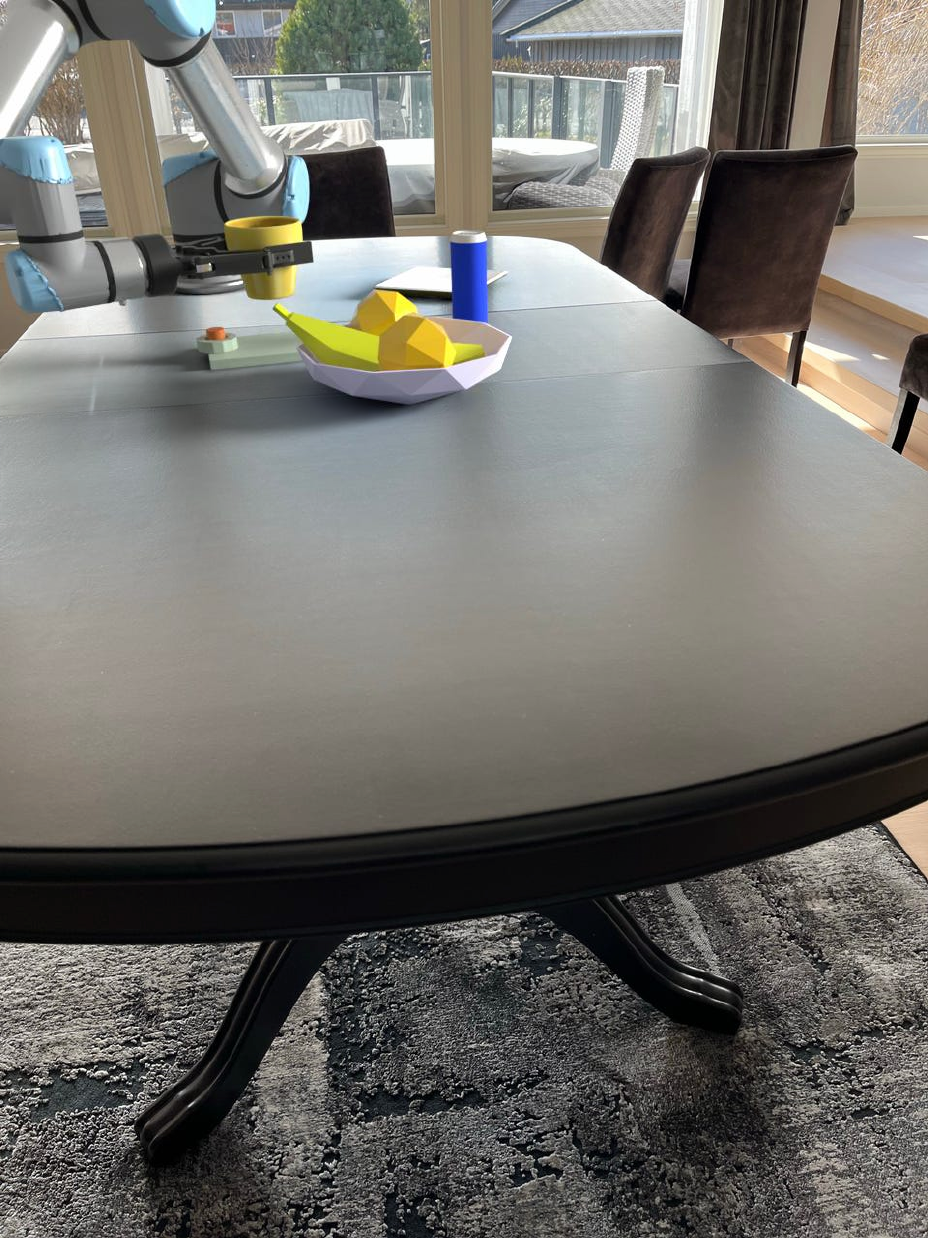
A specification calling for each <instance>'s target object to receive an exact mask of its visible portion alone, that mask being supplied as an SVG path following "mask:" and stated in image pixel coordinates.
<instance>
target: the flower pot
mask: <svg viewBox="0 0 928 1238" xmlns="http://www.w3.org/2000/svg"><path fill="white" fill-rule="evenodd" d="M224 231H225V238H226V243H227V248H228V250H250V249H263V248H265V247H266V246H274V245H281V244H289V243H296V242H304V241H303V227H302V224H301V221H300V219H298V218H294V217H285V216H260V217H248V218H241V219H235V220H231V221H228V222H226V223H225V224H224ZM297 273H298V265H293V266H286V267H279V268H273V271H272V274H273V275H269V276H268V275H267V272H264V273H252V274H241V278H242V281H243V284H244V287H245V288H244V290H245V292H246V296H247V298H249V299H252V300H257V301H273V300H274V301H275V300H281V299H286V298H289V297H292V296H294V294H295V292H296V284H297V283H296V282H297V281H296V280H297Z"/></svg>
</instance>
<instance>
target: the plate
mask: <svg viewBox="0 0 928 1238" xmlns="http://www.w3.org/2000/svg"><path fill="white" fill-rule="evenodd" d="M508 273H509V271H506V270H497V269H487V287H488V286H490V285H492V284H493V283H495V282H497V281H498V280H500V279H503V278H504V277H505V276H507V275H508ZM373 288H374V290H384V291H393V292H398V293H400V294H401V295H402V296H403V297H417V298H418V297H419V298H435V299H436V298H437V299H451V300H452V280H451V267H432V266H416V267H414V268H411V269H409V270H408V271H405V272H403V273H401V274H398V275H396V276H394V277H392V278H390V279H387V280H385V281H382V282H381V283H378V284H376V285H375V286H373Z"/></svg>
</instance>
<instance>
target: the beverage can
mask: <svg viewBox="0 0 928 1238" xmlns="http://www.w3.org/2000/svg"><path fill="white" fill-rule="evenodd" d="M449 244H450V245H449V246H450V249H449V250H450V268H451V280H452V299H451V305H452V307H451V308H452V319H459V320H467V321H476V322H485V323H487V324H489V311H488V310H489V309H488V308H489V307H488V303H489V302H488V301H489V300H488V297H489V296H488V286H487V270H488V239H487V237H486V233H485V232H484V231H483V230H476V229H468V230H467V229H466V230H456V231H453V232H452V233H451V235H450V241H449Z"/></svg>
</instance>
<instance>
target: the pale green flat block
mask: <svg viewBox="0 0 928 1238" xmlns="http://www.w3.org/2000/svg"><path fill="white" fill-rule="evenodd" d="M225 336H226V338H225V339H221V340H207V335H206V334H202V335H199V336H198V337H196V343H197V344H196V345H197V349H198V352H199V353H202V354H207V355H208V356H207V357H208V361H209V368H210V370H211V371H215V370H225V369H233V368H245V367H255V366H264V365H273V364H284V363H292V362H304V361H303V359H302V358H301V356H300V354H299V352H298V350H297V348H296V347H297V346H299V345H300V344H302V343H303V342H302V341H301V340H300V339H299V338H298V337H297V336H296V335H295V334H294V332H293V331H292V330H291V331H284V332H283V331H282V332H273V333H271V332H270V333H263V334H262V333H261V334H252V335H241V336H240V335H239V336H237V334H235V333H231V332H225Z"/></svg>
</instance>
